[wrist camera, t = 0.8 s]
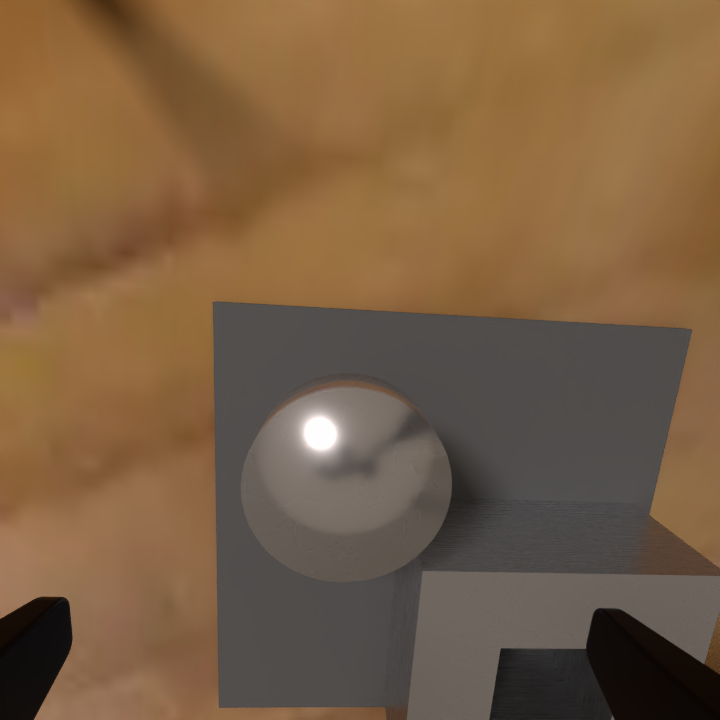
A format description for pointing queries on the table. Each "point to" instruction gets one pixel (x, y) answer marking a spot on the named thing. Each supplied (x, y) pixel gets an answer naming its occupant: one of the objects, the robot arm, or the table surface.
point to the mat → (460, 440)
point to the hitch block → (534, 607)
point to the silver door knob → (346, 479)
